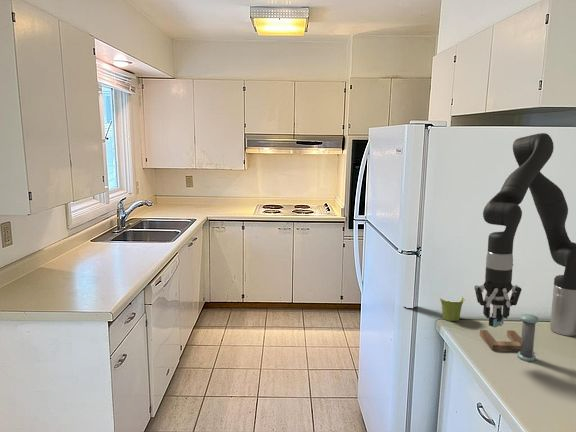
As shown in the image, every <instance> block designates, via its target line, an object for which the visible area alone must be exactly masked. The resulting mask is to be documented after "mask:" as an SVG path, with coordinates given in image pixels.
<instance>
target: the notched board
mask: <svg viewBox="0 0 576 432" xmlns="http://www.w3.org/2000/svg"><path fill="white" fill-rule="evenodd" d="M479 336H480V338H481V339H482V340H483V342H484V343H485V344H486V345H487V346H488V348H489V349H490V350H491V351H494V352H520V349H521V335H520V334H519V333H517V332H516V330H506V337H507V338H509V340H510V341H505V340H504V341H501V340H500V341H499V340H498V341H497V340H496V338H495V337H494V336H493V335H492V334H491V333H490V332H489V331H488V329H480V330H479Z"/></svg>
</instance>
